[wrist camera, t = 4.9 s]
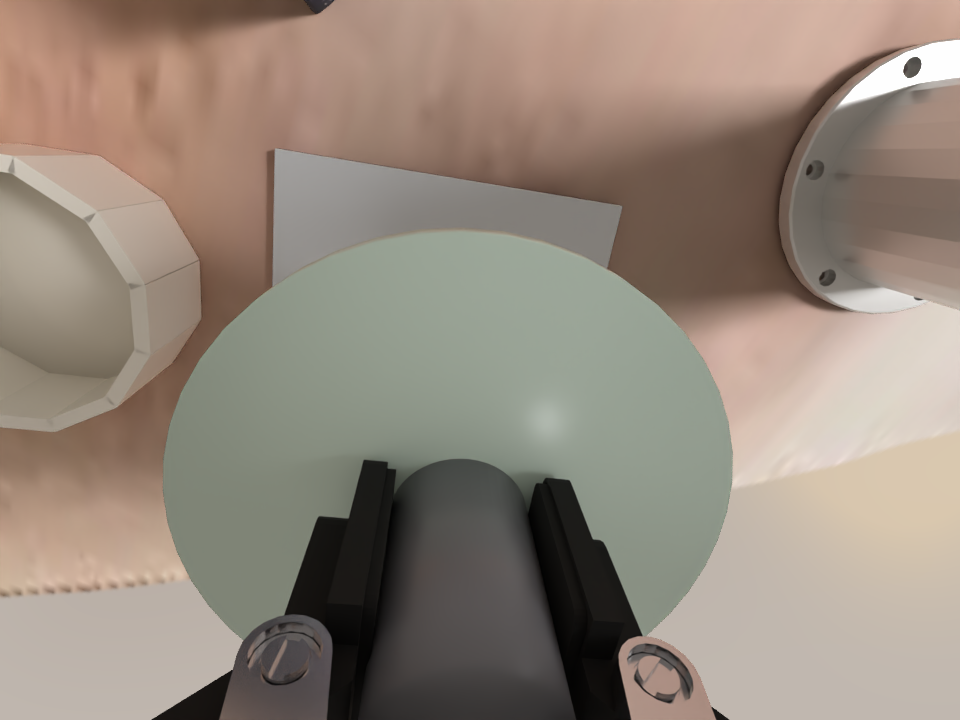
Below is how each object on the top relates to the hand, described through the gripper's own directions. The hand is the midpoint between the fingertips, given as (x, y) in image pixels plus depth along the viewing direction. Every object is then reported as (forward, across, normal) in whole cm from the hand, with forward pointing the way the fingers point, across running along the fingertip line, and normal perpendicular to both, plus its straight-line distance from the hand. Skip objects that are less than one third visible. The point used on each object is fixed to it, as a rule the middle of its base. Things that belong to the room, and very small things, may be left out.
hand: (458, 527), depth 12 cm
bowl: (+16, +18, 0) cm, 24 cm away
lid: (+1, 0, 0) cm, 1 cm away
